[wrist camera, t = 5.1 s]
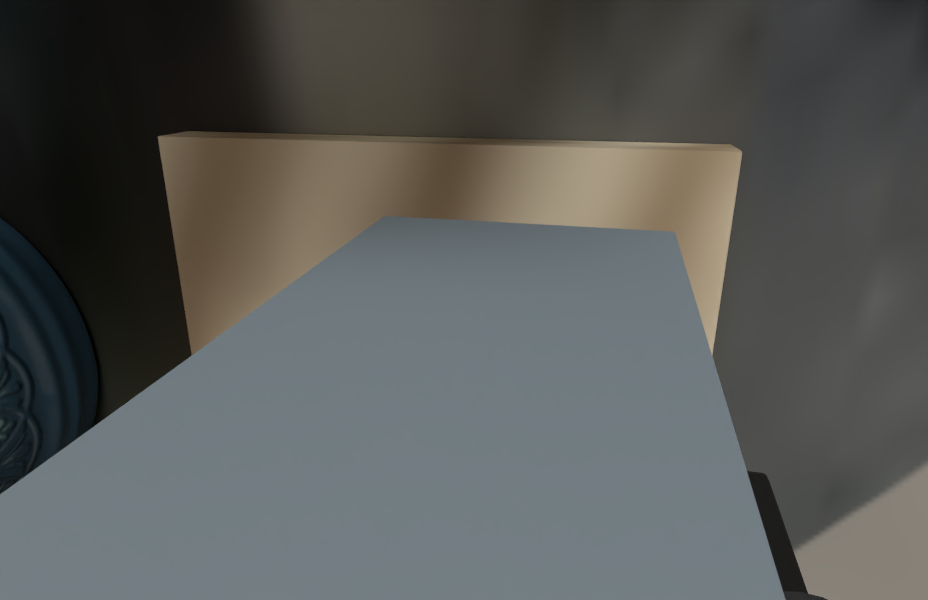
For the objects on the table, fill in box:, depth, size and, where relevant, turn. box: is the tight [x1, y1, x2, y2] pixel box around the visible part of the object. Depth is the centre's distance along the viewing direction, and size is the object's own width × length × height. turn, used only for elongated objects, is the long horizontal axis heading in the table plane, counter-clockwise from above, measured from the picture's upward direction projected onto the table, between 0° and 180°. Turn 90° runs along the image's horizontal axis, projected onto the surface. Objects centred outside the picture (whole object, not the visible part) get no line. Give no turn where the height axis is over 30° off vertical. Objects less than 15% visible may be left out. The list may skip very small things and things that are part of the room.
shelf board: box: [158, 131, 742, 355], centre depth 19 cm, size 16×12×4 cm
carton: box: [0, 216, 785, 600], centre depth 8 cm, size 5×7×9 cm
